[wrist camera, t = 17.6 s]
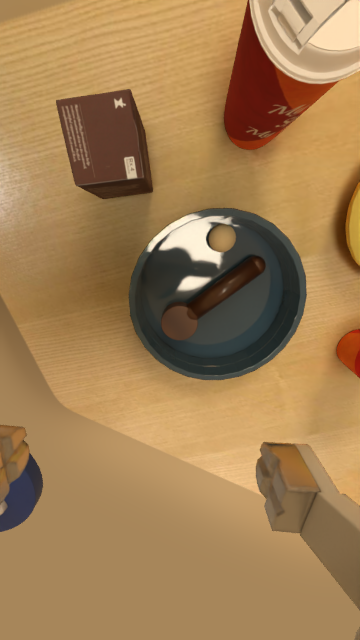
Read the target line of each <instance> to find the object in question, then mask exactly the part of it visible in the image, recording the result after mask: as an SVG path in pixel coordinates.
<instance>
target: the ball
mask: <svg viewBox="0 0 360 640" xmlns="http://www.w3.org/2000/svg"><path fill="white" fill-rule="evenodd" d="M235 241H236V234H235V231H234V229H233V228H232V227H231V226H229V225H227V224H219V225H217V226H215V227H214V228H213V229H212V230H211V232H210V234H209V244H210V246H211V247H212V249H213V250H215V251H217V252H226V251H228V250H230V249H231V248H232V247H233V245H234V243H235Z"/></svg>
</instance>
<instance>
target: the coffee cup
mask: <svg viewBox="0 0 360 640" xmlns="http://www.w3.org/2000/svg"><path fill="white" fill-rule="evenodd" d="M359 70H360V0H248V2H247V7H246V12H245V16H244V21H243V25H242V30H241V34H240V39H239V43H238V48H237V52H236V57H235V61H234V66H233V71H232V75H231V80H230V85H229V89H228V94H227V99H226V105H225V111H224V123H225V129H226V132H227V134H228V136H229V138H230V139H231V141H232V142H233V143H234V144H235V145H237V146H238V147H240V148H243V149H247V150H252V149H257V148H260V147H262V146H264V145H265V144H267V143H268V142H269V141H271V140H272V139H273V138H274V137H276V136H277V135H278V134H279V133H280V132H281V131H283V130H284V129H285V128H286V127H287V126H288V125H290V124H291V123H292V122H293V121H294V120H295V119H296V118H298V117H299V116H300V115H301V114H302V113H303V112H304V111H306V110H307V109H308V108H309V107H310V106H311V105H312V104H314V103H315V102H316V101H317V100H318V99H319V98H320V97H321V96H323V95H324V94H325V93H326V92H327V91H328V90H329V89H331V88H332V87H333V86H334V85H335V84H336V83H337V82H339V81H340V80H342V79H344V78H347V77H349V76H351V75H352V74H354V73H356V72H358V71H359Z"/></svg>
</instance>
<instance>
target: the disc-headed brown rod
mask: <svg viewBox="0 0 360 640" xmlns="http://www.w3.org/2000/svg"><path fill="white" fill-rule="evenodd" d="M265 267H266V263H265V260H264V259H263V258H262V257H260V256H251V257H250V258H248V259H247V260H245V261H244V262H243V263H241V264H240V265H239V266H237V267H236V268H235V269H233V270H232V271H231V272H229V273H228V274H227V275H225V276H224V277H223V278H221V279H220V280H219V281H217V282H216V283H215V284H213V285H212V286H211V287H209V288H208V289H207V290H205V291H204V292H203V293H201V294H200V295H199V296H197V297H196V298H195V299H193V300H192V301H191V302H189V303H188V304H187V303H184V302H174V303H172V304H170V305H168V306H167V307H166V308H165V310H164V312H163V315H162V319H161V327H162V330H163V332H164V333H165V334H166V335H167V336H168V337H170V338H171V339H174V340H185V339H187V338H189V337H191V336H192V335H193V334H194V333H195V331H196V329H197V326H198V319H200V318H201V317H202V316H204V315H205V314H206V313H208V312H209V311H211V310H212V309H213V308H215V307H216V306H218V305H219V304H220V303H222V302H223V301H225V300H226V299H227V298H229V297H230V296H232V295H233V294H234V293H236V292H237V291H238V290H240V289H241V288H243V287H244V286H245V285H247V284H248V283H250V282H251V281H252V280H254V279H255V278H257V277H258V276H259V275H261V274H262V273H263V272H264V270H265Z"/></svg>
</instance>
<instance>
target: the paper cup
mask: <svg viewBox="0 0 360 640" xmlns="http://www.w3.org/2000/svg"><path fill="white" fill-rule="evenodd" d="M337 355H338V357H339V359H340V360H341V361H342V362H343V363H344V364H345V365H346V366H347V367H348V368H349V369H350V370H351V371H352V372H354V373H355V374H356V375H357V376H358V377H359V378H360V329H358V330H354V331H351V332H349V333H348V334H346V335H345V336H344V337H343V338H342V339H341V340H340V342H339V344H338V346H337Z"/></svg>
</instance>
